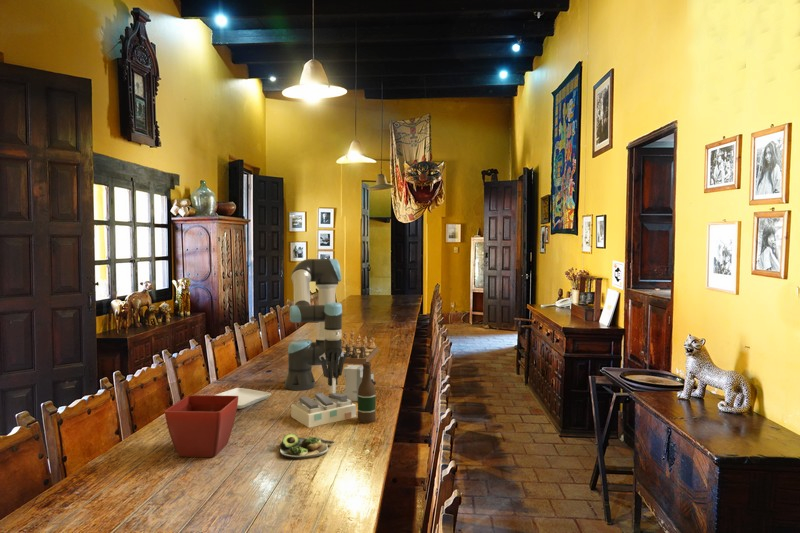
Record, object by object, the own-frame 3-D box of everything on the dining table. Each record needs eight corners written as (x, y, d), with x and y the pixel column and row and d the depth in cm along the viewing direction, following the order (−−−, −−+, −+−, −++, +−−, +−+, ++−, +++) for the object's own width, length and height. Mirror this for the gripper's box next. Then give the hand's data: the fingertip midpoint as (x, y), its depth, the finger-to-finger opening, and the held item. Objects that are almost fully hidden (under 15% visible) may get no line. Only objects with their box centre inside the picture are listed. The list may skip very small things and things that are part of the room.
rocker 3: (329, 397, 226) (328, 394, 226) (335, 396, 228) (335, 392, 228) (340, 400, 218) (340, 396, 218) (347, 399, 220) (347, 395, 220)
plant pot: (188, 439, 193) (188, 394, 193) (239, 440, 193) (239, 395, 192) (163, 460, 174) (163, 411, 174) (220, 462, 174) (219, 412, 173)
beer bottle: (378, 418, 218) (379, 361, 217) (371, 424, 210) (372, 365, 209) (361, 416, 220) (361, 359, 219) (354, 422, 213) (354, 363, 212)
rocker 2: (314, 396, 222) (315, 393, 222) (321, 395, 224) (321, 392, 223) (326, 407, 214) (326, 404, 214) (332, 406, 216) (333, 402, 216)
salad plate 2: (332, 438, 196) (332, 426, 196) (337, 457, 179) (337, 444, 179) (279, 442, 192) (279, 430, 192) (279, 462, 175) (279, 449, 174)
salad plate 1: (272, 399, 244) (272, 392, 244) (241, 412, 225) (241, 404, 225) (237, 393, 253) (237, 386, 253) (204, 406, 234) (204, 398, 234)
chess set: (321, 349, 360) (321, 327, 359) (378, 351, 354) (378, 329, 353) (302, 362, 320) (302, 338, 319) (366, 365, 314) (366, 340, 313)
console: (291, 416, 219) (291, 401, 219) (336, 407, 232) (336, 392, 232) (309, 427, 206) (309, 411, 206) (356, 416, 219) (356, 401, 219)
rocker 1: (299, 401, 218) (299, 397, 217) (306, 399, 220) (306, 396, 219) (310, 409, 210) (310, 405, 210) (317, 408, 212) (318, 404, 212)
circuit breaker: (372, 402, 239) (373, 370, 239) (343, 400, 242) (343, 368, 242) (376, 397, 247) (377, 366, 246) (347, 395, 250) (348, 364, 249)
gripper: (323, 341, 219) (323, 397, 220) (350, 338, 227) (350, 392, 228) (315, 338, 225) (315, 393, 226) (341, 335, 233) (341, 388, 234)
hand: (332, 392), depth 227 cm, fingers closed
